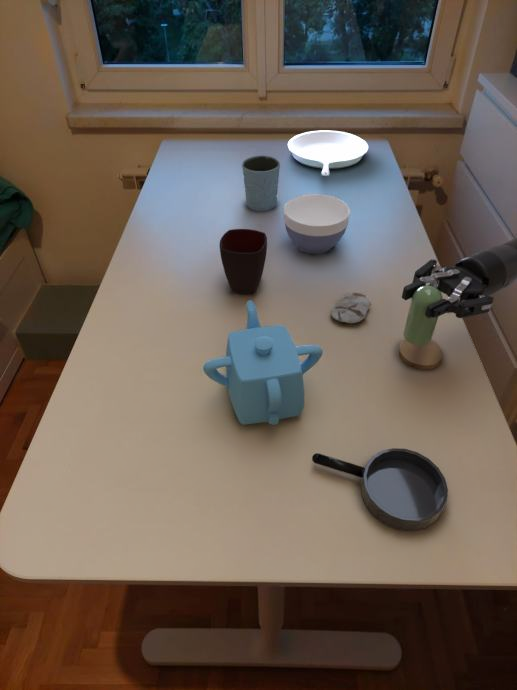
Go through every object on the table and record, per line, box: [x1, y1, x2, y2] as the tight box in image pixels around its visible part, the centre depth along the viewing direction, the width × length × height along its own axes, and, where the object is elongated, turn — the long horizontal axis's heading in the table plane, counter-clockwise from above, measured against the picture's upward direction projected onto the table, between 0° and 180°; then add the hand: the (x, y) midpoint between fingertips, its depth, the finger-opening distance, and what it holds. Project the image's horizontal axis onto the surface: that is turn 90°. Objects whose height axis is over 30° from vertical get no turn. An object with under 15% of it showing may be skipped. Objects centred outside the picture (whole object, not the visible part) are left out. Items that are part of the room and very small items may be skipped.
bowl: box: [283, 193, 351, 255], centre depth 124 cm, size 16×16×10 cm
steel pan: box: [360, 447, 449, 532], centre depth 75 cm, size 12×12×3 cm
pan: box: [287, 129, 369, 177], centre depth 161 cm, size 26×39×5 cm
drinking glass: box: [241, 155, 281, 212], centre depth 138 cm, size 10×10×12 cm
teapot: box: [202, 300, 323, 426], centre depth 86 cm, size 18×16×14 cm
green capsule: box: [402, 284, 444, 346], centre depth 84 cm, size 5×5×10 cm
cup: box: [218, 228, 268, 295], centre depth 111 cm, size 10×14×12 cm
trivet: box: [398, 338, 443, 370], centre depth 97 cm, size 8×8×1 cm
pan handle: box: [311, 452, 365, 479], centre depth 77 cm, size 9×2×2 cm, turn 69°
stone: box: [330, 292, 372, 324], centre depth 106 cm, size 10×7×3 cm
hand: (415, 303), depth 81 cm, fingers closed on green capsule, 4 cm apart
